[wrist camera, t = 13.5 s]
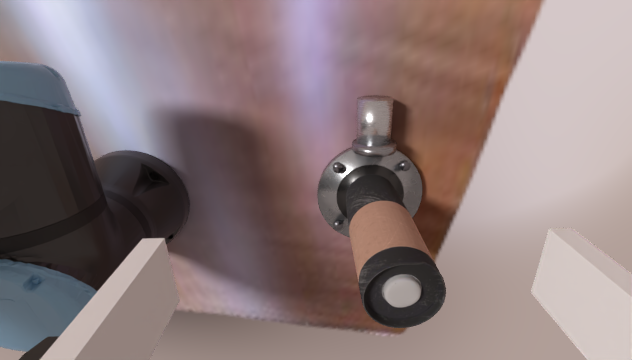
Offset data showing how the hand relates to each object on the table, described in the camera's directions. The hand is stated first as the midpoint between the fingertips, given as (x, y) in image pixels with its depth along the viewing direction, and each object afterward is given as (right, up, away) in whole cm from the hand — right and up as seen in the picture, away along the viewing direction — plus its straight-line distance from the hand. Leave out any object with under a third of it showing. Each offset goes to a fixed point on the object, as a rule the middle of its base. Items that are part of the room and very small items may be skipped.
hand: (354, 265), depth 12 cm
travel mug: (+6, +1, +36) cm, 37 cm away
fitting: (+6, +4, +36) cm, 37 cm away
